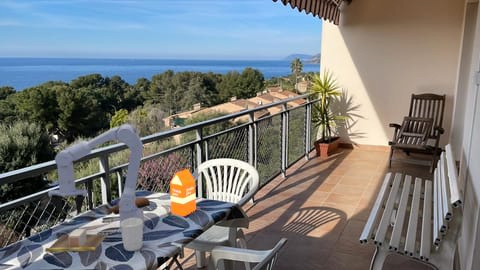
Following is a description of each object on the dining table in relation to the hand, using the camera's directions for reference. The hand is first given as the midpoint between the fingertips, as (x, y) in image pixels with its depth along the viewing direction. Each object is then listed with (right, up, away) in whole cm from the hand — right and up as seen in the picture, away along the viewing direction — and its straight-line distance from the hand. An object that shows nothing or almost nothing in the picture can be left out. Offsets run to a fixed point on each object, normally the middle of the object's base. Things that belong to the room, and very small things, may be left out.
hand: (69, 213), depth 149 cm
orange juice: (+42, -5, +25) cm, 49 cm away
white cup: (+28, -11, -9) cm, 32 cm away
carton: (+7, -10, -8) cm, 15 cm away
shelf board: (+6, -11, -6) cm, 14 cm away
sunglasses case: (+15, -5, +32) cm, 35 cm away
